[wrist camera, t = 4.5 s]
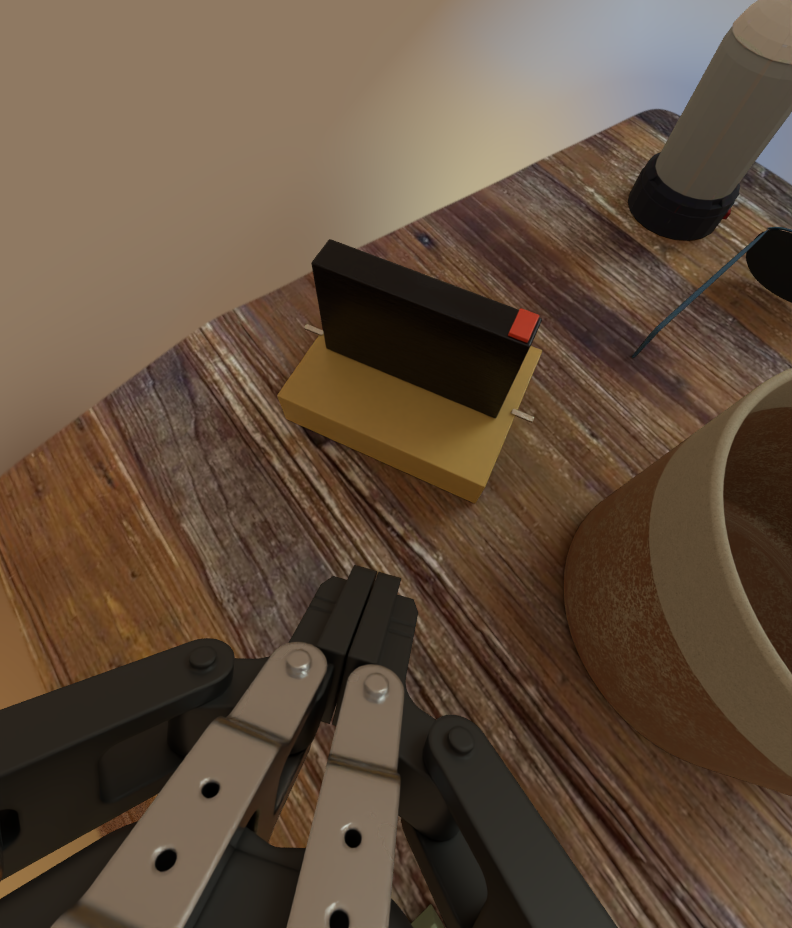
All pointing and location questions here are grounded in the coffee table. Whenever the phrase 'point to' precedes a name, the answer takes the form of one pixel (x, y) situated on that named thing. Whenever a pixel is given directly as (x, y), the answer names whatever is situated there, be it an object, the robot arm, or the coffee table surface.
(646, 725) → the planter
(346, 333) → the block
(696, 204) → the humidifier
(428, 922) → the button block
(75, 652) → the coffee table surface
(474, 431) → the plate
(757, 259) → the sunglasses
